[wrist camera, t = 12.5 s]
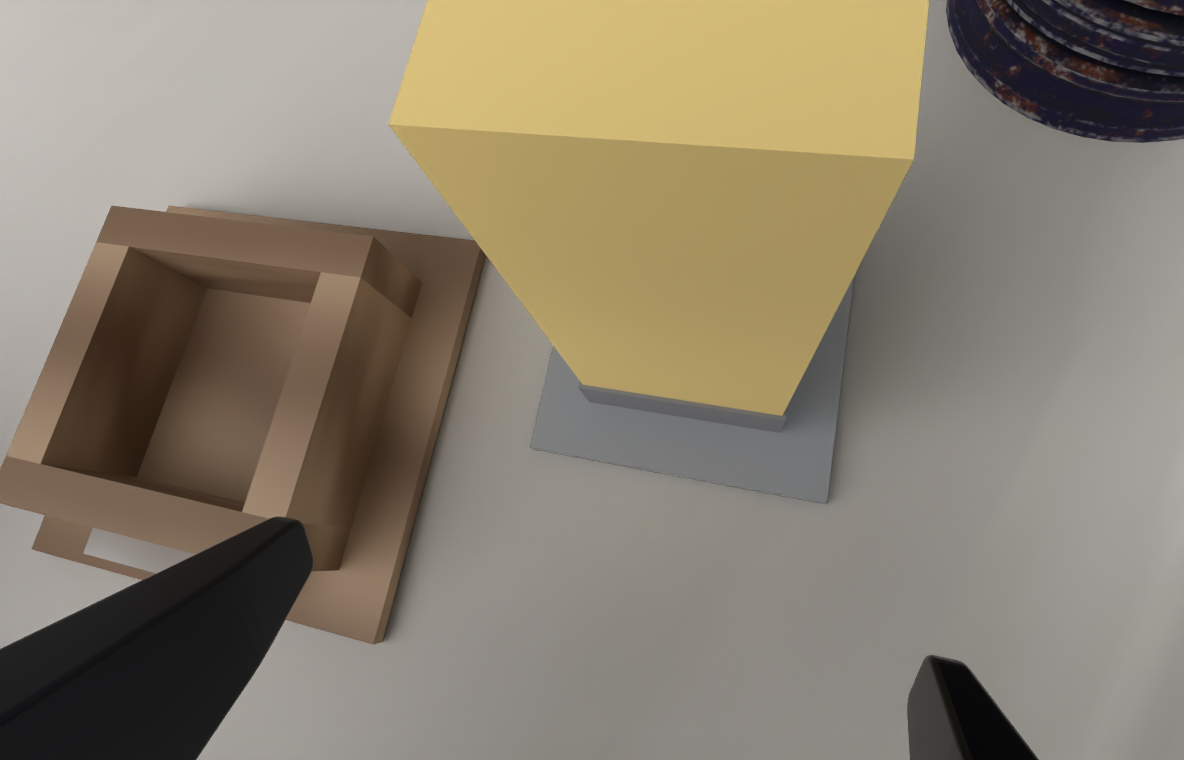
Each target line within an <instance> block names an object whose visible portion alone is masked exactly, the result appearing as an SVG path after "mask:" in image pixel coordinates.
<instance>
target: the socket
mask: <svg viewBox="0 0 1184 760" xmlns="http://www.w3.org/2000/svg"><path fill="white" fill-rule="evenodd" d="M485 256H486V255H485V253H484V252H483V250H482V249H481V248H480V246H479V245H478V244H477V242H476V241H474V240H465V239H457V238H448V237H439V236H430V235H421V234H413V233H404V232H395V231H386V230H377V229H369V228H360V227H351V226H342V225H334V224H325V223H316V222H307V221H298V220H290V219H281V218H272V217H263V216H254V215H246V214H237V213H228V212H219V211H211V210H202V209H193V208H184V207H175V206H168V208H167V211H166V212H161V211H152V210H143V209H135V208H126V207H118V206H111V208H110V211H109V213H108V215H107V218H106V220H105V223H104V225H103V227H102V230H101V232H100V234H99V237H98V239H97V242H96V244H95V246H94V249H93V251H92V253H91V256H90V258H89V260H88V263H87V265H86V268H85V270H84V272H83V275H82V277H81V279H80V282H79V284H78V287H77V289H76V291H75V294H74V296H73V298H72V301H71V303H70V305H69V308H68V310H67V313H66V315H65V317H64V320H63V322H62V324H61V327H60V329H59V332H58V334H57V336H56V339H55V341H54V343H53V346H52V348H51V351H50V353H49V355H48V358H47V360H46V362H45V365H44V367H43V369H42V372H41V374H40V377H39V379H38V381H37V384H36V386H35V388H34V391H33V393H32V396H31V398H30V400H29V403H28V405H27V407H26V410H25V412H24V415H23V417H22V419H21V422H20V424H19V426H18V429H17V431H16V433H15V436H14V438H13V441H12V443H11V445H10V448H9V450H8V452H7V455H6V457H5V460H4V462H3V464H2V467H1V469H0V503H1V504H5V505H9V506H12V507H16V508H20V509H24V510H28V511H32V512H35V513H39V514H43V515H45V517H44V519H43V522H42V524H41V527H40V529H39V532H38V534H37V537H36V539H35V542H34V544H33V547H32V549H33V550H36V551H40V552H44V553H47V554H51V555H54V556H58V557H62V558H65V559H69V560H72V561H76V562H80V563H83V564H87V565H90V566H94V567H98V568H101V569H105V570H108V571H112V572H115V573H119V574H123V575H126V576H130V577H133V578H137V579H141V580H144V579H146V578H148V577H150V576H152V575H154V574H156V573H158V572H160V571H163V570H165V569H167V568H169V567H171V566H173V565H175V564H177V563H179V562H181V561H183V560H185V559H187V558H189V557H191V556H194V555H196V554H198V553H200V552H202V551H204V550H206V549H208V548H210V547H212V546H214V545H216V544H218V543H220V542H222V541H224V540H227V539H229V538H231V537H233V536H235V535H237V534H239V533H241V532H243V531H245V530H247V529H249V528H251V527H253V526H255V525H258V524H260V523H262V522H264V521H266V520H268V519H270V518H273V517H277V516H280V517H286V518H291V519H295V520H299V521H301V522H302V523H303V525H304V527H305V530H306V533H307V537H308V540H309V543H310V547H311V550H312V554H313V558H314V563H313V568H312V571H311V573H310V576H309V577H308V579H307V581H306V583H305V585H304V587H303V588H302V590H301V592H300V594H299V596H298V597H297V599H296V601H295V603H294V605H293V607H292V608H291V610H290V612H289V614H288V616H287V617H286V619H285V620H288V621H292V622H295V623H299V624H302V625H306V626H310V627H313V628H317V629H320V630H324V631H327V632H331V633H335V634H338V635H342V636H345V637H349V638H353V639H356V640H360V641H363V642H367V643H371V644H376V643H380V642H382V641H383V638H384V634H385V630H386V626H387V623H388V619H389V615H390V611H391V608H392V604H393V600H394V596H395V593H396V589H397V585H398V581H399V578H400V574H401V570H402V567H403V563H404V559H405V555H406V552H407V548H408V544H409V540H410V537H411V533H412V529H413V525H414V522H415V518H416V514H417V510H418V507H419V503H420V499H421V495H422V492H423V488H424V484H425V480H426V477H427V473H428V469H429V465H430V462H431V458H432V454H433V450H434V447H435V443H436V439H437V435H438V432H439V428H440V424H441V420H442V417H443V413H444V409H445V405H446V402H447V398H448V394H449V390H450V387H451V383H452V379H453V375H454V372H455V368H456V364H457V360H458V357H459V353H460V349H461V345H462V342H463V338H464V334H465V330H466V327H467V323H468V319H469V315H470V312H471V308H472V304H473V300H474V297H475V293H476V289H477V286H478V282H479V278H480V274H481V271H482V267H483V263H484V259H485Z"/></svg>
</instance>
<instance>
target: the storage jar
mask: <svg viewBox="0 0 1184 760" xmlns="http://www.w3.org/2000/svg"><path fill="white" fill-rule="evenodd" d="M946 12H947V18H948V25H949V31H950V34H951V36H952V39H953V42H954V45H955V47H956V50H957V52H958V53H959V55H960V57H961V58H962V60H963V62H964V63H965V65H966V67H967V68H968V70H969V71H970V72H971V73H972V74H973V75H974V76H975V78H976V79H977V80H978V81H979V82H980V83H981V84H982V86H983V87H984V88H986V89H987V90H988V91H989V92H990V93H992V94H993V95H994V96H995V97H997V98H998V99H999V100H1000V101H1001V102H1003V103H1004V104H1006V105H1007V106H1009V107H1011V108H1012V109H1014V110H1016V111H1017V112H1019V113H1021V114H1022V115H1024V116H1026V117H1028V118H1030V119H1032V120H1035V121H1037V122H1039V123H1042V124H1044V125H1046V126H1049V127H1051V128H1054V129H1057V130H1061V131H1064V132H1068V133H1071V134H1075V135H1078V136H1082V137H1088V138H1094V139H1101V140H1107V141H1118V142H1155V141H1168V140H1177V139H1182V138H1184V0H947V8H946Z"/></svg>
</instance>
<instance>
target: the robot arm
mask: <svg viewBox="0 0 1184 760" xmlns="http://www.w3.org/2000/svg"><path fill="white" fill-rule="evenodd" d="M313 563H314V558H313V554H312V550H311V547H310V543H309V540H308V537H307V533H306V530H305V527H304V525H303V523H302V522H301V521H299V520H295V519H291V518H286V517H280V516H277V517H273V518H270V519H268V520H266V521H264V522H262V523H260V524H258V525H255V526H253V527H251V528H249V529H247V530H245V531H243V532H241V533H239V534H237V535H235V536H233V537H231V538H229V539H227V540H224V541H222V542H220V543H218V544H216V545H214V546H212V547H210V548H208V549H206V550H204V551H202V552H200V553H198V554H196V555H194V556H191V557H189V558H187V559H185V560H183V561H181V562H179V563H177V564H175V565H173V566H171V567H169V568H167V569H165V570H163V571H160V572H158V573H156V574H154V575H152V576H150V577H148V578H146V579H144V580H142V581H140V582H138V583H136V584H134V585H132V586H129V587H127V588H125V589H123V590H121V591H119V592H117V593H115V594H113V595H111V596H109V597H107V598H105V599H103V600H101V601H98V602H96V603H94V604H92V605H90V606H88V607H86V608H84V609H82V610H80V611H78V612H76V613H74V614H72V615H70V616H67V617H65V618H63V619H61V620H59V621H57V622H55V623H53V624H51V625H49V626H47V627H45V628H43V629H41V630H38V631H36V632H34V633H32V634H30V635H28V636H26V637H24V638H22V639H20V640H18V641H16V642H14V643H12V644H10V645H7V646H5V647H3V648H2V649H0V760H196V759H197V758H198V756H199V755H200V753H201V752H202V750H203V749H204V747H205V746H206V744H207V743H208V741H209V740H210V738H211V737H212V735H213V734H214V732H215V731H216V729H217V728H218V726H219V725H220V724H221V722H222V721H223V719H224V718H225V716H226V715H227V713H228V712H229V710H230V709H231V707H232V706H233V704H234V703H235V701H236V700H237V698H238V697H239V695H240V694H241V692H242V691H243V689H244V688H245V687H246V685H247V684H248V682H249V681H250V679H251V678H252V676H253V675H254V673H255V671H256V670H257V668H258V667H259V665H260V664H261V662H262V660H263V659H264V657H265V655H266V653H267V652H268V650H269V648H270V647H271V645H272V643H273V641H274V639H275V637H276V636H277V634H278V632H279V630H280V628H281V627H282V625H283V623H284V621H285V619H286V617H287V616H288V614H289V612H290V610H291V608H292V607H293V605H294V603H295V601H296V599H297V597H298V596H299V594H300V592H301V590H302V588H303V587H304V585H305V583H306V581H307V579H308V577H309V576H310V573H311V571H312V568H313ZM907 716H908V733H909V750H910V760H1039V759H1038V758H1037V757H1036V755H1035V754H1034V753H1033V751H1032V750H1031V749H1030V747H1029V746H1028V745H1027V743H1026V742H1025V741H1024V740H1023V738H1022V737H1021V736H1020V734H1019V733H1018V732H1017V730H1016V729H1015V728H1014V726H1013V725H1012V724H1011V723H1010V721H1009V720H1008V719H1007V717H1006V716H1005V715H1004V713H1003V712H1002V711H1001V709H1000V708H999V707H998V705H997V704H996V703H995V702H994V700H993V699H992V698H991V696H990V695H989V694H988V692H987V691H986V690H985V688H984V687H983V686H982V684H981V683H980V682H979V681H978V679H977V678H976V677H975V675H974V674H973V673H972V671H971V670H970V669H969V668H968V667H967V666H966V665H965V664H964V663H962V662H961V661H958V660H954V659H949V658H945V657H940V656H935V655H929V656H927V657H926V658H925V659H924V661H923V663H922V665H921V667H920V670H919V672H918V674H917V677H916V679H915V681H914V684H913V686H912V688H911V691H910V693H909V697H908V704H907Z"/></svg>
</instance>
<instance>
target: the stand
mask: <svg viewBox="0 0 1184 760" xmlns="http://www.w3.org/2000/svg"><path fill="white" fill-rule="evenodd" d="M853 284H854V277H853V279H852V281H851V283H850V285H849V287H848V289H847V291H846V293H845V295H844V297H843V298H842V300H841V302H840V304H839V306H838V308H837V310H836V312H835V314H834V316H833V318H832V320H831V322H830V324H829V326H828V328H827V330H826V332H825V334H824V335H823V337H822V339H821V341H820V343H819V345H818V347H817V349H816V351H815V353H814V355H813V357H812V359H811V361H810V363H809V365H808V367H807V369H806V371H805V373H804V374H803V376H802V378H801V380H800V382H799V384H798V386H797V388H796V390H795V392H794V394H793V396H792V398H791V400H790V402H789V404H788V409H787V417H786V421H785V423H784V425H783V427H782V429H781V430H780V432H779V433H777V432H771V431H765V430H759V429H752V428H746V427H740V426H734V425H728V424H722V423H716V422H709V421H703V420H697V419H691V418H685V417H679V416H672V415H666V414H660V413H654V412H648V411H642V410H636V409H629V408H623V407H617V406H611V405H605V404H599V403H592V402H589V401H588V400H587V398H586V397H585V396H584V395H583V393H582V392H581V391H580V390H579V388H578V386H579V381H580V380H579V379H578V378H577V376H576V375H575V374H574V372H573V371H572V370H571V368H570V367H569V366H568V364H567V363H566V362H565V360H564V359H563V358H562V356H561V355H560V354H559V352H558V351H557V350H556V348H555V347H554V346H553V349H552V353H551V357H550V362H549V366H548V370H547V375H546V379H545V383H544V388H543V392H542V396H541V401H540V405H539V409H538V413H537V418H536V422H535V426H534V431H533V435H532V439H531V444H530V447H531V448H532V449H536V450H541V451H546V452H551V453H557V454H562V455H567V456H573V457H578V458H583V459H588V460H594V461H599V462H604V463H610V464H615V465H620V466H625V467H631V468H636V469H641V470H647V471H652V472H657V473H663V474H668V475H673V476H678V477H684V478H689V479H694V480H700V481H705V482H710V483H715V484H721V485H726V486H731V487H737V488H742V489H747V490H752V491H758V492H763V493H768V494H774V495H779V496H784V497H790V498H795V499H800V500H805V501H811V502H816V503H821V504H826V503H827V498H828V490H829V482H830V474H831V465H832V457H833V449H834V441H835V432H836V424H837V416H838V407H839V399H840V391H841V383H842V374H843V366H844V358H845V350H846V341H847V333H848V325H849V317H850V308H851V300H852V292H853Z"/></svg>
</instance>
